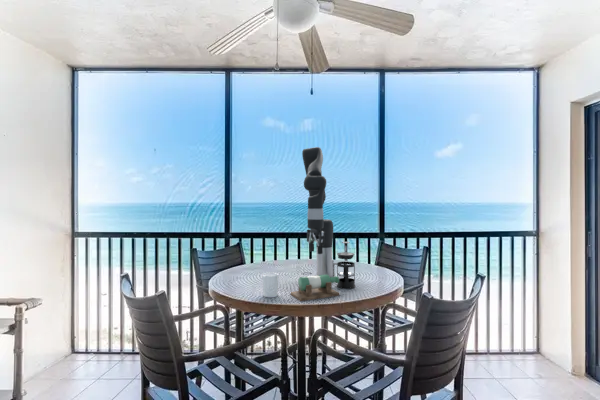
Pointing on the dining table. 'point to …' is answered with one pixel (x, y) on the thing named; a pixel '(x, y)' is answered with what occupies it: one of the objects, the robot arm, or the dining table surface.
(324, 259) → the robot arm
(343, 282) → the french press
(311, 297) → the bottle rest
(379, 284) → the dining table surface
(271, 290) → the white cup
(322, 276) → the green bottle
